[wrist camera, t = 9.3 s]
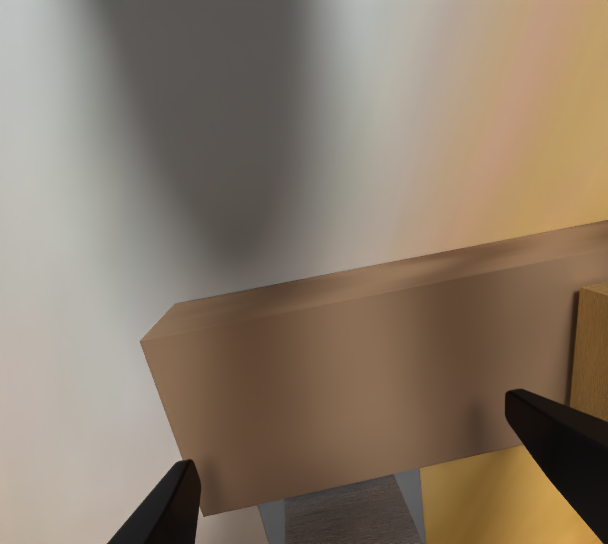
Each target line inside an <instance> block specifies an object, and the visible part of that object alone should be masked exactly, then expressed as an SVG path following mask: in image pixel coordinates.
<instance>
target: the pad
mask: <svg viewBox="0 0 608 544" xmlns="http://www.w3.org/2000/svg"><path fill="white" fill-rule="evenodd" d="M394 476H395V478H396V480H397V483H398V485H399V488H400V490H401V492H402V495H403V497H404V499H405V502H406V504H407V507H408V509H409V511H410V514H411V516H412V518H413V521H414V523H415V526H416V528H417V530H418V533H419V535H420V537H421V540H422V542H423V544H426V542H425V530H424V518H423V506H422V494H421V482H420V470H419V468H417V469H413V470H408V471H404V472H400V473H395V474H394ZM258 508H259V511H260V515H261V518H262V522H263V525H264V529H265V532H266V536H267V539H268V542H269V544H285V507H284V499H280V500H276V501H272V502H267V503H263V504H258Z"/></svg>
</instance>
